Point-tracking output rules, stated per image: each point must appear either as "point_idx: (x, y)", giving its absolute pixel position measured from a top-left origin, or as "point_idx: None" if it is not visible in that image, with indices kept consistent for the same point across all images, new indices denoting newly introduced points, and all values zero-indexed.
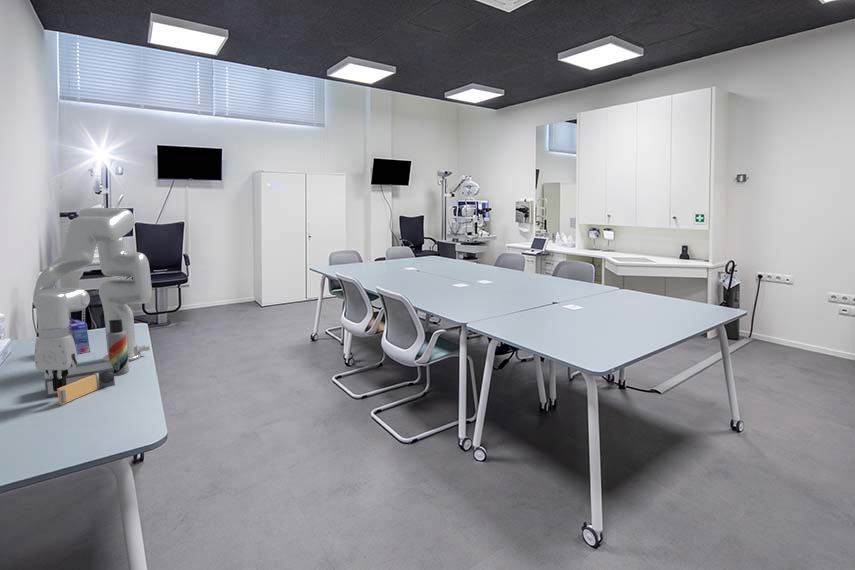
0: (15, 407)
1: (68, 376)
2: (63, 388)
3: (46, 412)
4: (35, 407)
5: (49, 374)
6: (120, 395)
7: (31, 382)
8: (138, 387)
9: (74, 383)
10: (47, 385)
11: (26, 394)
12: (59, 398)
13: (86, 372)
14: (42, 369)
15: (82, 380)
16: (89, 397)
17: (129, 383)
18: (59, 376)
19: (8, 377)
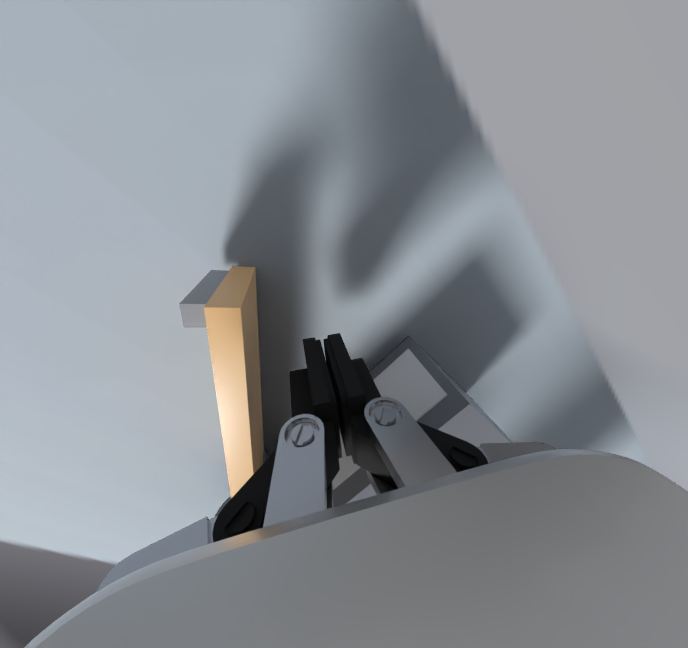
0: (473, 198)
1: (367, 476)
2: (212, 337)
3: (222, 142)
4: (367, 215)
5: (416, 431)
6: (45, 446)
7: (548, 418)
8: (81, 519)
9: (221, 426)
10: (433, 379)
11: (511, 340)
12: (238, 278)
13: None
14: (522, 464)
15: (228, 473)
16: (196, 386)
17: (181, 523)
18: (303, 440)
19: (626, 421)
